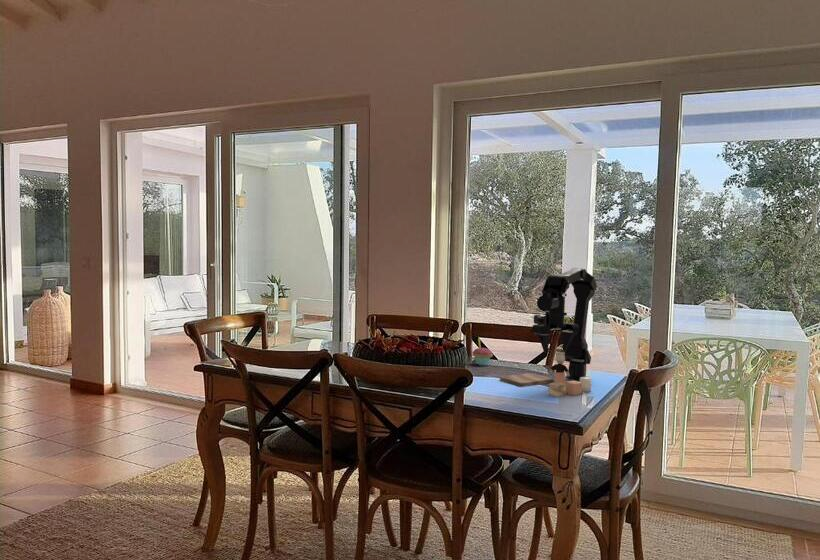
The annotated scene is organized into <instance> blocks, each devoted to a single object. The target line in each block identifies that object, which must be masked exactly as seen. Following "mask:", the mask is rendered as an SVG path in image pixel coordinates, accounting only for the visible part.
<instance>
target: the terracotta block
mask: <svg viewBox="0 0 820 560" xmlns="http://www.w3.org/2000/svg"><path fill="white" fill-rule="evenodd" d="M565 384H566V392H565V394H568V395H572V396H576V395H577V396H578V395H581V394H582V393H583V391H582V383H581V382H580V381H578V380H569V381H568V380H567V381H565Z"/></svg>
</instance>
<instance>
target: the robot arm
mask: <svg viewBox="0 0 820 560" xmlns="http://www.w3.org/2000/svg"><path fill="white" fill-rule="evenodd" d="M597 284H598V283H597V281H596V279H595V277H594V276H593V275H592V274H590V273H589V272H588V271H587V270H586V269H585V268H583V267H572V268H571V269H569V270H567V271H565V272H563V273H560V274H555V273H554V274H549V275H548V276H547V278H546V280H545V282H544V285H543V288H542V291H541V293H542V295H541V296H539V297H538V299H537V300H536V305H537V308H538V310H540V311H541V312H545V314H544V315H543V316H542V315H541V314H534V315H533V323H534V324H533V325H532V326H531V333H533V334H534V336H537V337H538V339H539V341H540V344H541V347H542V351H543V353H544V354H547V352H548V350H549V346H550V339H551V337H552V336H551V334H550V333H551V332H557V331H558V332H560V334H561V337H562V339H561V341H562V344H561V345H562V352H564V357H565V360H564V362H568V371H569V374H570V376H569V377H568V376H567V374H565V378H569V379H572V380H575V381H580V377H588V376H587V365H590V364H591V363H592V357H591V354H590V351H589V350H588V349H589V348H588V347H589V345H588V343H587V340H586V338H585V336H586V328H587V321H588V311H589V306H590V305H589V304H590V301H591V300H592V298H593V297H594V296H595V292H596V290H597V287H598V286H597ZM570 285H571V286H572V287H573V291H572V292H573V294H574V296H575V298H576V303H575V310H574V318H573V322H565V316H568V315H567V314H568V312H565V309H566V307H565V306H566V297H567V295H568V294H567V291H568V289H569V288H570Z"/></svg>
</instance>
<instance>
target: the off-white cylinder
mask: <svg viewBox="0 0 820 560" xmlns="http://www.w3.org/2000/svg"><path fill="white" fill-rule="evenodd" d="M579 382H581V383H582V392H584V393H585V392H586V393H589V392H592V377H589V376H587V377H580V380H579Z"/></svg>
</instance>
